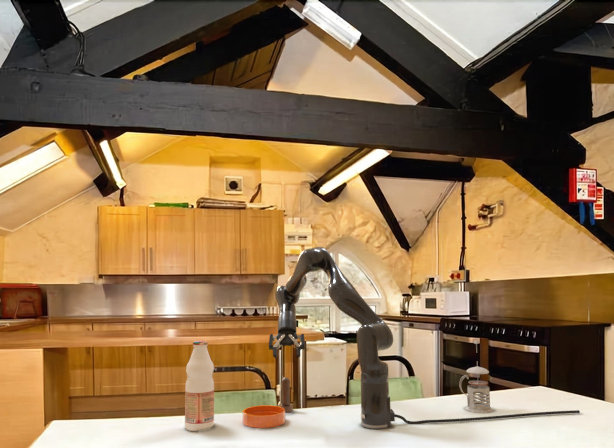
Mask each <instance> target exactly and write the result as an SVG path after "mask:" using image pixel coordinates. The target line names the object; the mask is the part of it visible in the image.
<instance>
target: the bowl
mask: <svg viewBox="0 0 614 448" xmlns="http://www.w3.org/2000/svg"><path fill="white" fill-rule="evenodd" d="M241 415H242V417H241V418H242V424H243V425H244V426H246V427H249V428H255V429H268V428H275V427H280V426H282V425H284V424H285V423H286V413H285V409H284V408H282V407H279V405H271V404H267V405H266V404H263V405H253V406H249V407H246V408H244V409H242V414H241Z"/></svg>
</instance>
